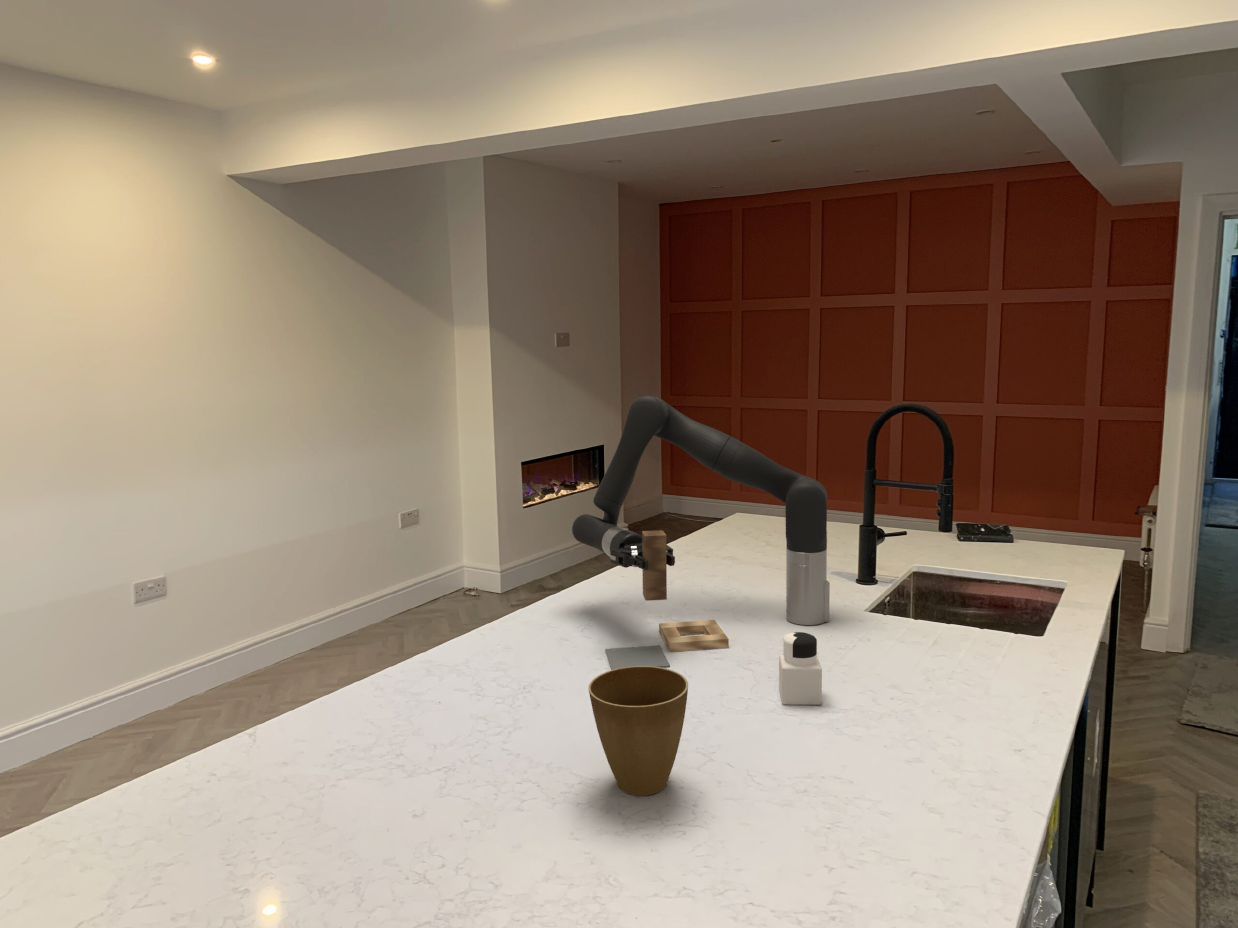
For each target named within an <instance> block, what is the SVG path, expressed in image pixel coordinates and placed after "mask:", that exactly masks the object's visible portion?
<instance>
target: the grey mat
mask: <svg viewBox="0 0 1238 928" xmlns="http://www.w3.org/2000/svg"><path fill="white" fill-rule="evenodd" d="M604 651H605V654H606V657H607V659H608V663H609V667H610V670H614V669H618V668H623V667H631V666H654V667H661V668H666V669H667V668H671V665H670V662H669V660H668V658H667V656H666V655H665V652H664V650H663V649H662V647H661V645H660V644H657V645H655V644H654V645H643V646H642V645H640V646H626V647H625V646H624V647H613V648H610V647H609V648H605V650H604Z"/></svg>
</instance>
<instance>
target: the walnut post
mask: <svg viewBox="0 0 1238 928" xmlns="http://www.w3.org/2000/svg"><path fill="white" fill-rule="evenodd" d="M641 536H642V557H643V558H645V559H647V560H648V570H643V569H642V595H643V598H644V600H645V601H646V602H648V601H650V602H651V601H663V600H664V601H667V600H668V597H667V596H668V594H667V593H668V591H667V589H668V587H667V583H668V582H667V579H668V578H667V577H668V576H667V572H668V571H667V569H668V568H667V564H666V545H667V534H666V533H665V531H664V530H661V529H660V530H641Z"/></svg>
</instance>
